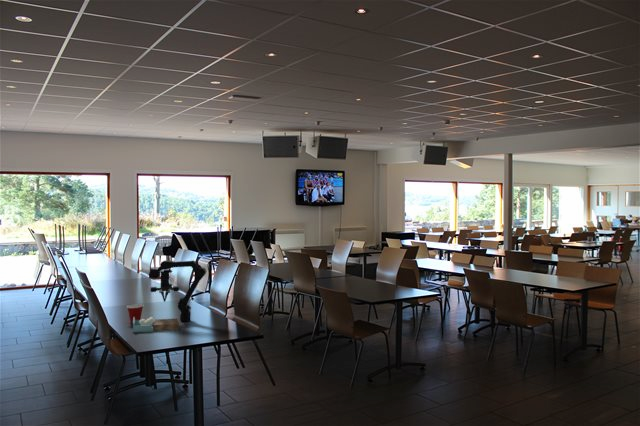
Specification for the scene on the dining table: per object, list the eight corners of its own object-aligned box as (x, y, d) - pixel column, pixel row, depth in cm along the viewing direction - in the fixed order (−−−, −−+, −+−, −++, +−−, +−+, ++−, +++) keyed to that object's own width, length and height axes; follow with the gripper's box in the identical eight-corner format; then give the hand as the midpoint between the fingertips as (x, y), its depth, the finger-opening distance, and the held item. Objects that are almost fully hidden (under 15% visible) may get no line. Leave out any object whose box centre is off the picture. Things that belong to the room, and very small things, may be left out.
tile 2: (154, 320, 344) (152, 316, 343) (154, 321, 339) (152, 318, 339) (147, 324, 342) (145, 320, 342) (147, 326, 338) (145, 322, 337)
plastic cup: (126, 321, 358) (126, 304, 358) (142, 320, 362) (143, 303, 362) (126, 325, 348) (126, 307, 348) (143, 324, 352) (143, 306, 351)
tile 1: (143, 318, 341) (139, 320, 341) (143, 319, 337) (139, 322, 336) (147, 324, 342) (143, 327, 342) (147, 326, 338) (143, 329, 337)
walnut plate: (177, 324, 354) (177, 318, 354) (179, 329, 339) (179, 323, 339) (152, 325, 349) (152, 319, 349) (153, 331, 334) (153, 324, 334)
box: (152, 325, 350) (152, 316, 350) (153, 331, 333) (153, 322, 333) (133, 326, 346) (133, 316, 346) (132, 332, 329) (133, 323, 329)
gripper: (150, 280, 354) (150, 304, 354) (179, 280, 360) (179, 303, 360) (150, 278, 364) (150, 301, 364) (178, 278, 370) (178, 300, 370)
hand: (164, 301), depth 364 cm, fingers closed
